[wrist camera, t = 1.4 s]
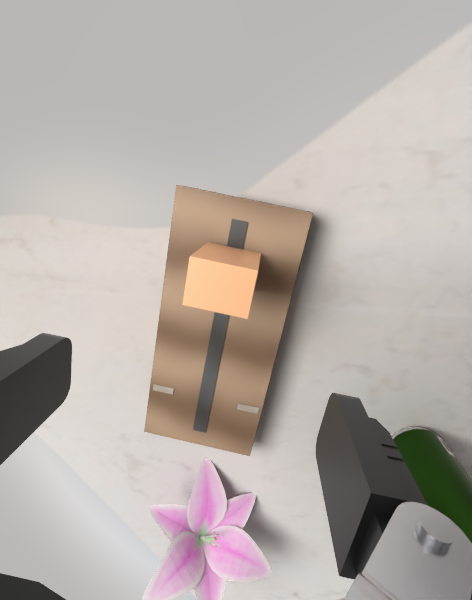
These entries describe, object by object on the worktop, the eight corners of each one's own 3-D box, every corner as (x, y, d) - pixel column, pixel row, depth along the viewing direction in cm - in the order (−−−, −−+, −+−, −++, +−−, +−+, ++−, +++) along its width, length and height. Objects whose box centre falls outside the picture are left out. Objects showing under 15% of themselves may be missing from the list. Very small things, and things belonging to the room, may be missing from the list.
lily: (276, 530, 38) (301, 587, 28) (182, 595, 36) (177, 679, 26) (225, 434, 39) (233, 458, 30) (132, 491, 37) (109, 536, 27)
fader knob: (208, 242, 25) (189, 256, 19) (260, 253, 25) (258, 270, 19) (201, 280, 26) (182, 304, 20) (252, 291, 26) (247, 319, 20)
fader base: (184, 186, 26) (176, 185, 24) (309, 211, 26) (313, 213, 24) (153, 414, 33) (144, 432, 31) (251, 437, 33) (249, 456, 30)
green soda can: (416, 413, 30) (504, 543, 19) (455, 447, 31) (563, 594, 20) (371, 446, 32) (427, 586, 21) (409, 479, 33) (484, 631, 21)
